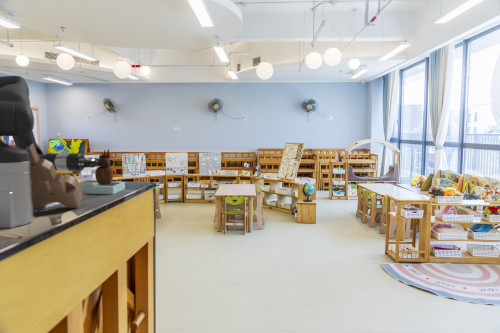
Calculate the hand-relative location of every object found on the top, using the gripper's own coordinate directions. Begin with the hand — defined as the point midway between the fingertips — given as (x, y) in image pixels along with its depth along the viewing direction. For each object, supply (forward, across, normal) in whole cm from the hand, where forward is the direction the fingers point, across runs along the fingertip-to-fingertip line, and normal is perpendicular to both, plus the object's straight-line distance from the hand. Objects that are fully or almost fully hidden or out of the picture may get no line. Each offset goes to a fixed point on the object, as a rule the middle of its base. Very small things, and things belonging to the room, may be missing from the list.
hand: (110, 163), depth 132 cm
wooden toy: (-6, -28, +10) cm, 30 cm away
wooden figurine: (-3, 0, +9) cm, 10 cm away
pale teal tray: (-2, 0, +12) cm, 12 cm away
